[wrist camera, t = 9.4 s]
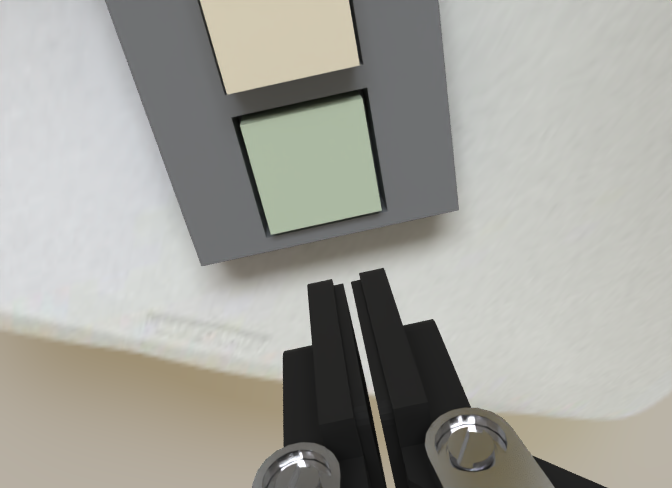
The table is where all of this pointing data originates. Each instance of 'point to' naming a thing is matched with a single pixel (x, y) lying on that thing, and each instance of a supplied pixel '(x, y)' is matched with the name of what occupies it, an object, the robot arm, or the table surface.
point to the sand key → (279, 40)
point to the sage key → (312, 161)
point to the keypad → (226, 110)
